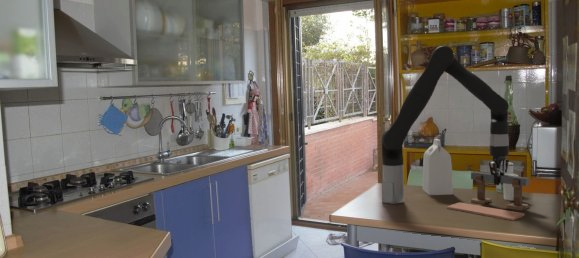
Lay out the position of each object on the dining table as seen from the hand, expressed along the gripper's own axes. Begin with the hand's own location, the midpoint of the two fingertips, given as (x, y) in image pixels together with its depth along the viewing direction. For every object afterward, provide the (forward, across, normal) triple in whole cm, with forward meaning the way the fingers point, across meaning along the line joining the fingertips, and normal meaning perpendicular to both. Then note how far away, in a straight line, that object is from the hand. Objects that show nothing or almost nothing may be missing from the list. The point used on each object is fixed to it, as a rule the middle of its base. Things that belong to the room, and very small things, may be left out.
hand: (498, 183), depth 205 cm
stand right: (+9, 0, +8) cm, 12 cm away
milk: (+9, -5, -33) cm, 35 cm away
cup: (+9, -13, -1) cm, 16 cm away
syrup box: (+9, -25, -9) cm, 28 cm away
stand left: (+9, 0, -8) cm, 12 cm away
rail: (-1, 0, 0) cm, 1 cm away
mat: (+9, +15, +1) cm, 18 cm away
